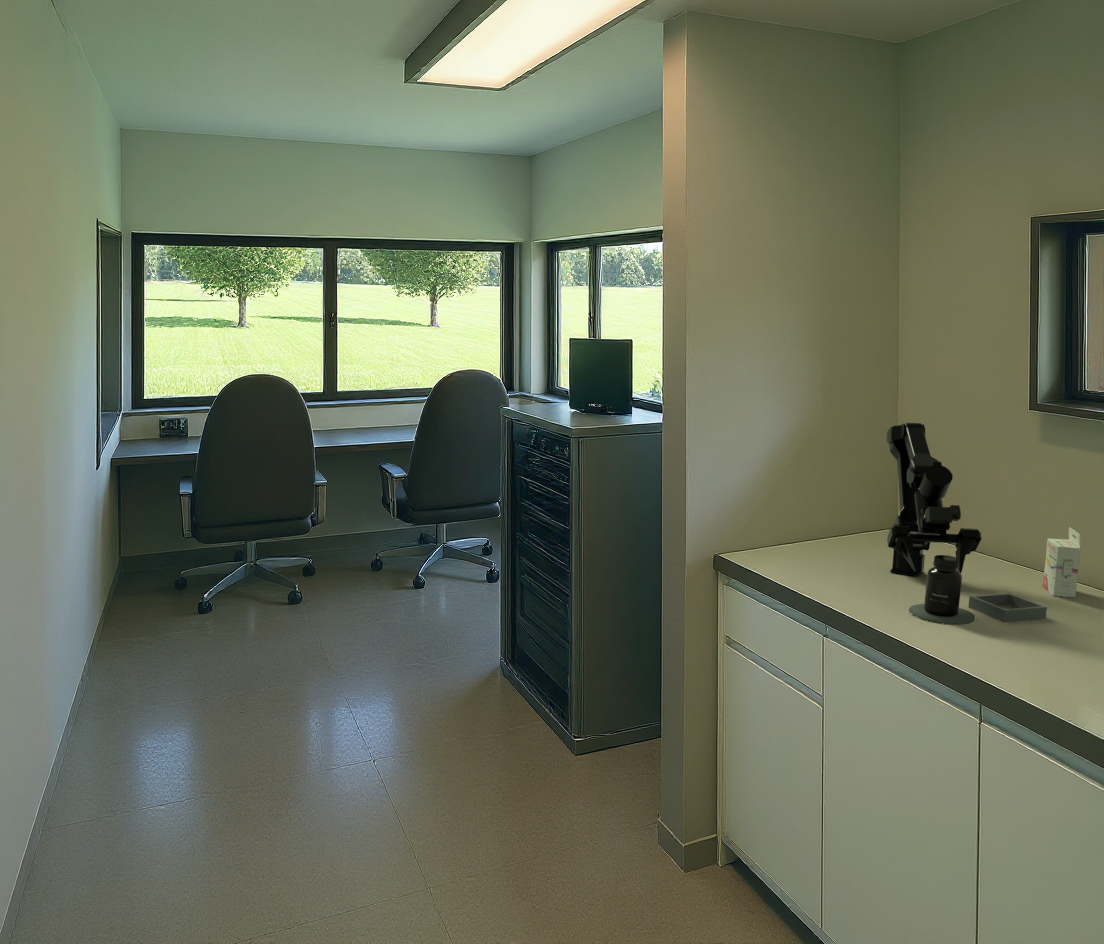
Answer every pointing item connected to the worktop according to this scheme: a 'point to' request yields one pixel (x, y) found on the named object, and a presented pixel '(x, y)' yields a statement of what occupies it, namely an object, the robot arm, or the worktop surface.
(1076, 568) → the ink cartridge box
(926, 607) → the supplement bottle
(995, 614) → the square grey tray
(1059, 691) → the worktop surface
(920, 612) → the rubber mat
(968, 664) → the worktop surface
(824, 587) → the worktop surface
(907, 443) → the robot arm
